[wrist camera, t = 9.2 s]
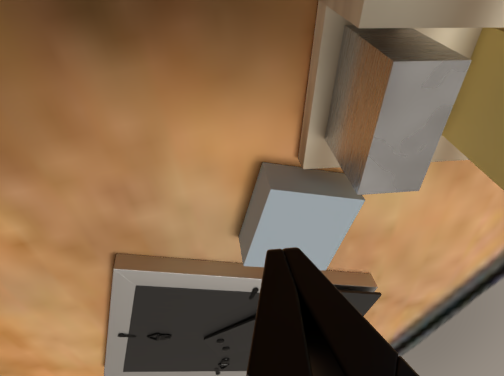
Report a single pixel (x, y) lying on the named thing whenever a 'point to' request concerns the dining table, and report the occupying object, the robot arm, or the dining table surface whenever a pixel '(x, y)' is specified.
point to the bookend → (391, 106)
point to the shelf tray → (383, 16)
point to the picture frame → (194, 314)
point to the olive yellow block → (482, 107)
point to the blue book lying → (298, 213)
